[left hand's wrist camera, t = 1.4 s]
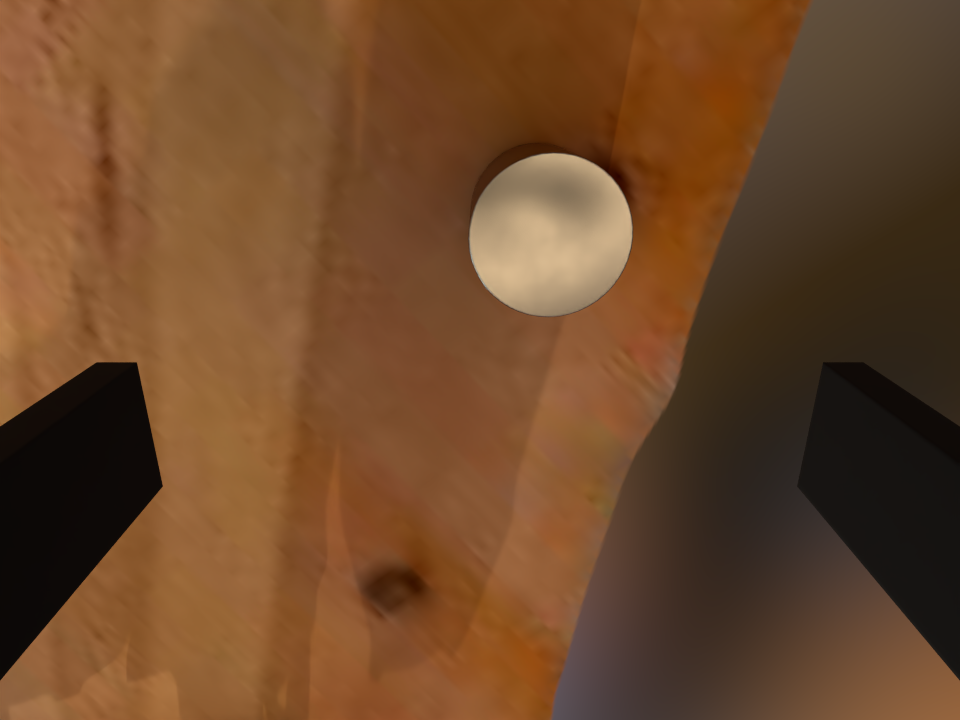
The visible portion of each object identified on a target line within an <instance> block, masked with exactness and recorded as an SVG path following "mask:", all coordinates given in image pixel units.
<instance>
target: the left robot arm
mask: <svg viewBox="0 0 960 720" xmlns="http://www.w3.org/2000/svg"><path fill="white" fill-rule="evenodd" d="M162 487H163V485H162V480H161V476H160V471H159V466H158V461H157V456H156V452H155V447H154V442H153V437H152V433H151V428H150V423H149V418H148V414H147V409H146V404H145V399H144V395H143V390H142V385H141V380H140V376H139V371H138V366H137V362H97V363H95V364H94V365H92V366H91V367H89V368H88V369H86V370H85V371H83V372H82V373H80V374H79V375H77V376H76V377H74V378H73V379H71V380H70V381H68V382H67V383H65V384H64V385H62V386H61V387H59V388H58V389H56V390H55V391H53V392H52V393H50V394H49V395H47V396H45V397H44V398H42V399H41V400H39V401H38V402H36V403H35V404H33V405H32V406H30V407H29V408H27V409H26V410H24V411H23V412H21V413H20V414H18V415H17V416H15V417H14V418H12V419H11V420H9V421H8V422H6V423H5V424H3V425H2V426H0V680H1V679H2V678H3V676H4V675H5V674H6V673H7V672H8V670H9V669H10V668H11V667H12V666H13V665H14V663H15V662H16V661H17V660H18V659H19V657H20V656H21V655H22V654H23V653H24V651H25V650H26V649H27V648H28V647H29V645H30V644H31V643H32V642H33V641H34V639H35V638H36V637H37V636H38V635H39V633H40V632H41V631H42V630H43V629H44V628H45V626H46V625H47V624H48V623H49V622H50V620H51V619H52V618H53V617H54V616H55V614H56V613H57V612H58V611H59V610H60V608H61V607H62V606H63V605H64V604H65V602H66V601H67V600H68V599H69V598H70V596H71V595H72V594H73V593H74V592H75V591H76V589H77V588H78V587H79V586H80V585H81V583H82V582H83V581H84V580H85V579H86V577H87V576H88V575H89V574H90V573H91V571H92V570H93V569H94V568H95V567H96V565H97V564H98V563H99V562H100V561H101V559H102V558H103V557H104V556H105V555H106V554H107V552H108V551H109V550H110V549H111V548H112V546H113V545H114V544H115V543H116V542H117V540H118V539H119V538H120V537H121V536H122V534H123V533H124V532H125V531H126V530H127V528H128V527H129V526H130V525H131V524H132V522H133V521H134V520H135V519H136V518H137V517H138V515H139V514H140V513H141V512H142V511H143V509H144V508H145V507H146V506H147V505H148V503H149V502H150V501H151V500H152V499H153V497H154V496H155V495H156V494H157V493H158V491H159V490H160V489H161V488H162ZM797 487H798V488H799V489H800V490H801V491H802V493H803V494H804V495H805V496H806V497H807V499H808V500H809V501H810V502H811V503H812V505H813V506H814V507H815V508H816V509H817V511H818V512H819V513H820V514H821V515H822V517H823V518H824V519H825V520H826V521H827V522H828V524H829V525H830V526H831V527H832V528H833V530H834V531H835V532H836V533H837V534H838V536H839V537H840V538H841V539H842V540H843V542H844V543H845V544H846V545H847V546H848V548H849V549H850V550H851V551H852V552H853V554H854V555H855V556H856V557H857V558H858V559H859V561H860V562H861V563H862V564H863V565H864V567H865V568H866V569H867V570H868V571H869V573H870V574H871V575H872V576H873V577H874V579H875V580H876V581H877V582H878V583H879V584H880V586H881V587H882V588H883V589H884V590H885V592H886V593H887V594H888V595H889V596H890V598H891V599H892V600H893V601H894V602H895V604H896V605H897V606H898V607H899V608H900V610H901V611H902V612H903V613H904V614H905V616H906V617H907V618H908V619H909V620H910V622H911V623H912V624H913V625H914V626H915V627H916V629H917V630H918V631H919V632H920V633H921V635H922V636H923V637H924V638H925V639H926V641H927V642H928V643H929V644H930V645H931V647H932V648H933V649H934V650H935V651H936V653H937V654H938V655H939V656H940V657H941V659H942V660H943V661H944V662H945V663H946V664H947V666H948V667H949V668H950V669H951V670H952V672H953V673H954V674H955V675H956V676H957V678H958V679H959V680H960V426H958V425H957V424H955V423H954V422H952V421H951V420H949V419H948V418H946V417H945V416H943V415H942V414H940V413H939V412H937V411H936V410H934V409H933V408H931V407H930V406H928V405H926V404H925V403H924V402H922V401H921V400H919V399H917V398H916V397H915V396H913V395H911V394H910V393H908V392H907V391H905V390H904V389H902V388H901V387H899V386H898V385H896V384H895V383H893V382H892V381H890V380H889V379H887V378H886V377H884V376H883V375H881V374H880V373H878V372H877V371H875V370H874V369H872V368H871V367H869V366H868V365H866V364H865V363H863V362H861V363H860V362H844V363H843V362H842V363H841V362H829V363H828V362H827V363H826V362H824V363H823V366H822V371H821V376H820V380H819V385H818V390H817V395H816V399H815V404H814V409H813V414H812V418H811V423H810V428H809V433H808V437H807V442H806V447H805V452H804V457H803V461H802V466H801V471H800V476H799V480H798V485H797Z"/></svg>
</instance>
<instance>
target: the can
mask: <svg viewBox="0 0 960 720" xmlns="http://www.w3.org/2000/svg"><path fill="white" fill-rule="evenodd" d="M468 240H469V251H470V255H471V260H472V263H473V266H474V268H475V271H476V273H477V275H478V277H479V279H480V280H481V282H482V283H483V284H484V286H485V287H486V289H487V290H488V291H489V292H490V293H491V294H492V295H493V296H494V297H495V298H497V299H498V300H499V301H500V302H502V303H503V304H505V305H506V306H508V307H510V308H512V309H514V310H516V311H518V312H521V313H524V314H528V315H533V316H538V317H555V316H562V315H567V314H571V313H574V312H577V311H580V310H582V309H584V308H586V307H588V306H590V305H591V304H593V303H594V302H596V301H598V300H599V299H600V298H601V297H602V296H604V295H605V294H606V293H607V292H608V291H609V290H610V289H611V288H612V287H613V285H614V284H615V283H616V281H617V280H618V279H619V277H620V275H621V274H622V272H623V270H624V268H625V266H626V264H627V261H628V259H629V255H630V252H631V248H632V241H633V222H632V215H631V211H630V207H629V204H628V202H627V199H626V197H625V195H624V193H623V191H622V190H621V188H620V186H619V185H618V184H617V182H616V181H615V180H614V179H613V177H611V176H610V175H609V174H608V173H607V172H606V171H605V170H604V169H603V168H601V167H600V166H598V165H597V164H595V163H593V162H592V161H590V160H588V159H586V158H583V157H581V156H579V155H577V154H575V153H572V152H570V151H568V150H566V149H564V148H561V147H558V146H555V145H551V144H546V143H531V144H525V145H520V146H517V147H515V148H512V149H510V150H508V151H506V152H504V153H502V154H501V155H500V156H498V157H497V158H496V159H495V160H493V161H492V162H491V163H490V164H489V165H488V167H487V168H486V169H485V170H484V172H483V173H482V175H481V176H480V178H479V180H478V182H477V184H476V186H475V189H474V192H473V196H472V202H471V211H470V222H469V239H468Z"/></svg>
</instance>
